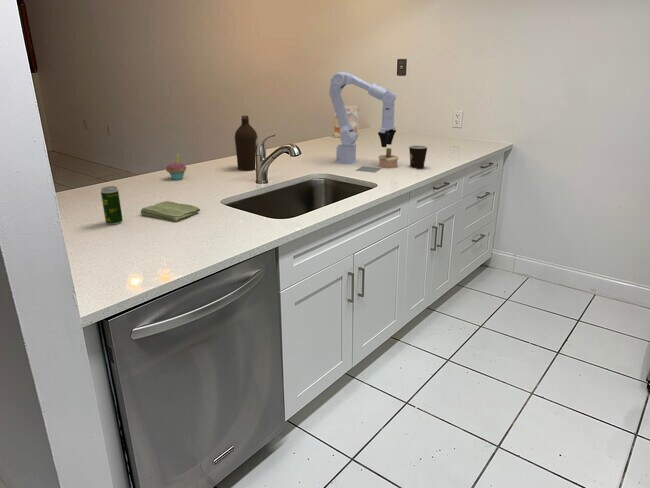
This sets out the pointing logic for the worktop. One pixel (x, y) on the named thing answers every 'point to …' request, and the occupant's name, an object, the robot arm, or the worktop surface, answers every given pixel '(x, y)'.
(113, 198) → the beer can
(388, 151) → the lid
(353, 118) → the coffeecake box
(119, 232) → the worktop surface
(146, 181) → the worktop surface
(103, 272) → the worktop surface
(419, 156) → the coffee mug
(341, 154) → the robot arm
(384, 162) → the bowl
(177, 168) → the cupcake
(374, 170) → the mat
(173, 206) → the washcloth
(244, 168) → the olive oil
